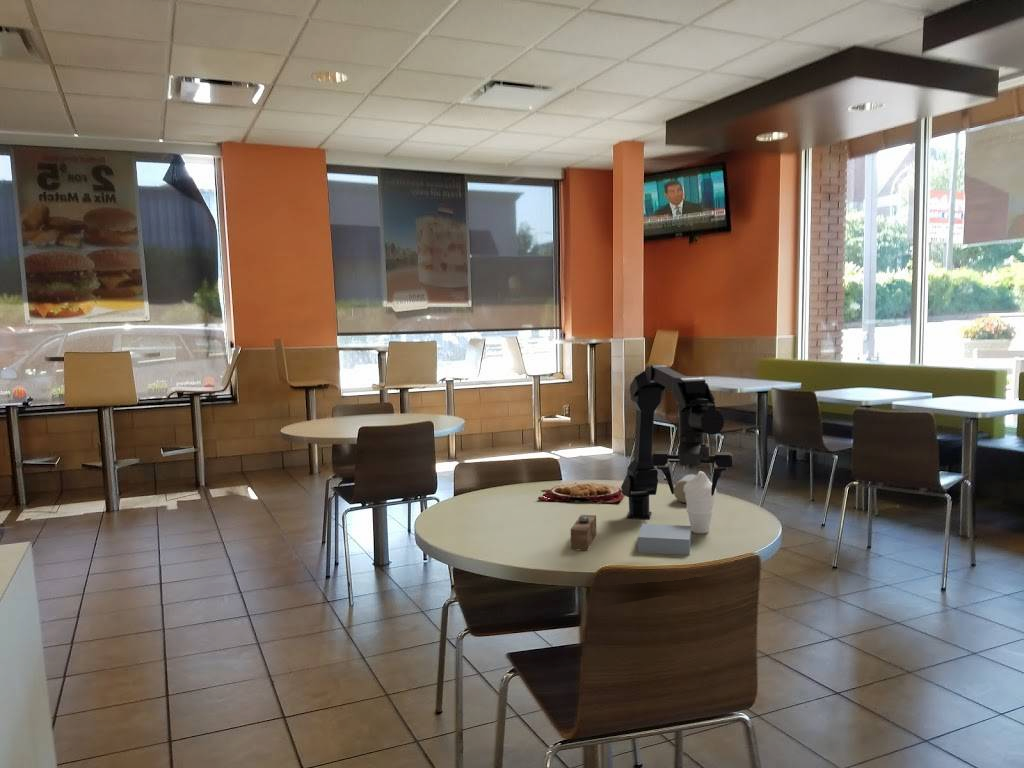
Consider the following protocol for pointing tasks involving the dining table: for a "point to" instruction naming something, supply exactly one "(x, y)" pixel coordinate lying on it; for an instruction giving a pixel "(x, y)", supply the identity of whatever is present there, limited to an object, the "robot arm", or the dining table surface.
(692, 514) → the soft serve ice cream cone
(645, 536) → the blue-grey square block
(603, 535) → the dining table surface
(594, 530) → the walnut bench dog
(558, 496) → the plate with food
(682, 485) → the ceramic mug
